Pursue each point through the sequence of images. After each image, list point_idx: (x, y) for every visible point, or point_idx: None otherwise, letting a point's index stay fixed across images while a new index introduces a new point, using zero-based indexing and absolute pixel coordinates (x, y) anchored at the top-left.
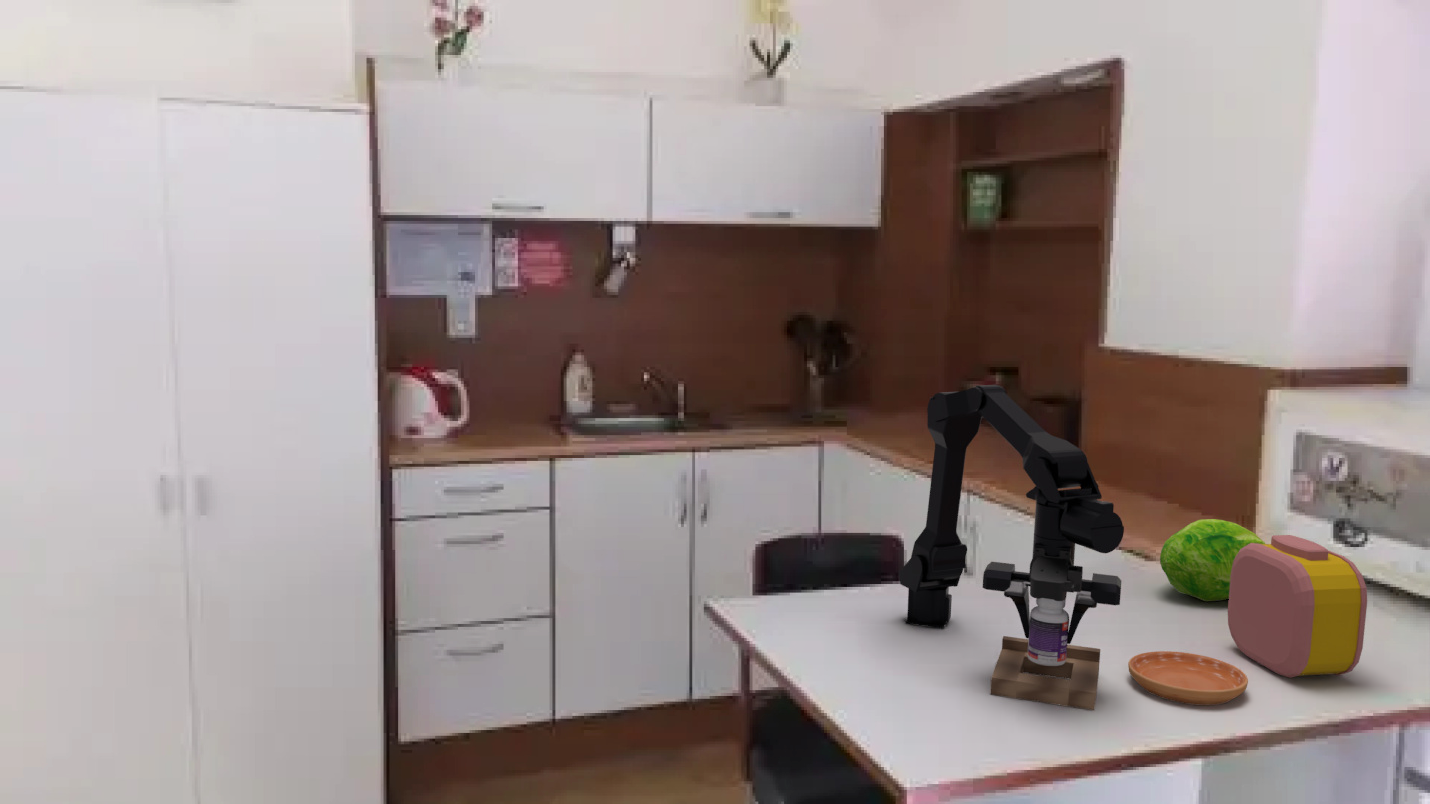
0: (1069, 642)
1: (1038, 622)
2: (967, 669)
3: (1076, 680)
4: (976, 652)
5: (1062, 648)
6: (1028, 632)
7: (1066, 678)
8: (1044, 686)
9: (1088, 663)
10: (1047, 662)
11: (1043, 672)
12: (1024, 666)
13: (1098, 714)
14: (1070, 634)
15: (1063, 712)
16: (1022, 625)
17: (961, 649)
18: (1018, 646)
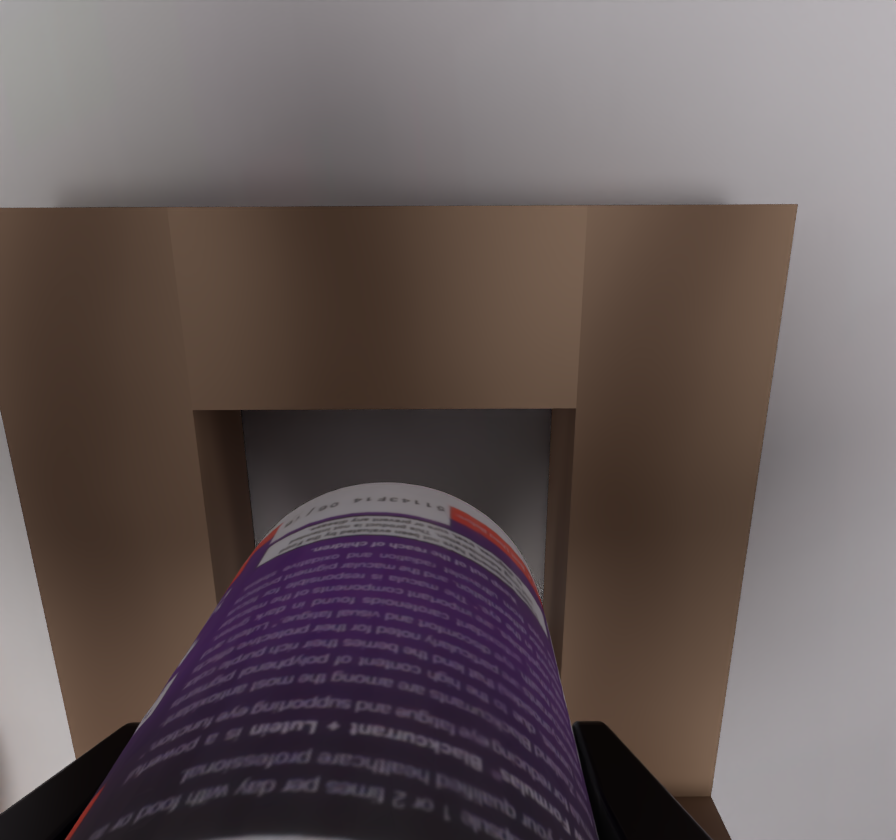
0: (126, 730)
1: (479, 835)
2: (866, 577)
3: (150, 418)
4: (806, 825)
5: (204, 625)
6: (592, 767)
7: None
8: (363, 209)
9: None
10: (362, 488)
11: None
12: None
13: (14, 156)
14: (54, 806)
15: (230, 89)
16: (706, 835)
17: (887, 835)
18: None
